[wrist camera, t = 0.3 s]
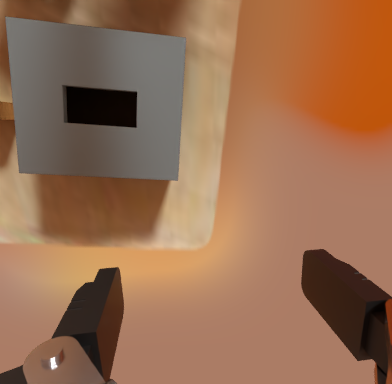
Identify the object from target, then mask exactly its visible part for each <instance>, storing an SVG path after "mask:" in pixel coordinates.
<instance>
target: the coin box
mask: <svg viewBox="0 0 392 384" xmlns="http://www.w3.org/2000/svg"><path fill="white" fill-rule="evenodd" d="M5 19H6V30H7V42H8V53H9V64H10V75H11V87H12V98H13V109H14V120H15V131H16V143H17V154H18V165H19V173H27V174H48V175H70V176H91V177H112V178H133V179H154V180H175V181H178V172H179V154H180V136H181V119H182V101H183V84H184V66H185V49H186V38H184V37H175V36H167V35H158V34H150V33H141V32H133V31H124V30H116V29H107V28H99V27H90V26H82V25H73V24H65V23H56V22H48V21H39V20H31V19H22V18H14V17H5ZM66 86H69V87H80V88H91V89H103V90H114V91H125V92H137V128H133V127H119V126H105V125H91V124H77V123H67V100H66Z"/></svg>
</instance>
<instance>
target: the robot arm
mask: <svg viewBox="0 0 392 384" xmlns="http://www.w3.org/2000/svg"><path fill="white" fill-rule="evenodd" d="M301 284H302V290H303V293H304V295H305V296H306V298H307V299H308V300H309V301H310V303H311V304H312V305H313V306H314V308H315V309H316V310H317V311H318V312H319V314H320V315H321V316H322V317H323V319H324V320H325V321H326V322H327V324H328V325H329V326H330V327H331V329H332V330H333V331H334V332H335V333H336V334H337V336H338V337H339V338H340V340H341V341H342V342H343V343H344V345H345V346H346V347H347V348H348V349H349V351H350V352H351V353H352V354H353V356H354V357H355V358H356V359H357V361H361V360H368V359H373V360H374V361H375V368H374V378H375V384H392V297H391V296H390V295H389V294H387V293H386V292H385V291H383V290H382V289H381V288H379V287H378V286H377V285H375V284H374V283H373V282H372V281H370V280H367V278H366V277H365V276H364V275H362V274H361V273H359V272H358V271H357V270H356V269H355V268H353V267H352V266H351V265H349V264H347V263H345V262H342V261H340V260H338V259H336V258H334V257H333V256H332V255H331V254H329V253H328V252H327V251H326V250H324V249H319V250H307V251H305V252H304V255H303V266H302V282H301ZM123 312H124V300H123V293H122V284H121V276H120V270H119V268H118V267H116V268H105V269H100V270H99V271H98V273H97V276H96V278H95V280H94V282H88V283H85V284H84V285H83V286H82V287H80V288H79V289H78V290H77V291H76V293H75V295H74V296H73V298H72V300H71V303H70V304H69V306H68V308H67V311H66V312H65V314H64V315H63V317H62V319H61V321H60V323H59V325H58V327H57V329H56V331H55V333H54V334H53V336H52V338H51V339H50V340H48V341H46V342H44V343H42V344H40V345H39V346H38V347H36V348H35V349H34V350H33V351H32V352H31V353H30V354H29V355H28V357H27V358H26V360H25V362H24V364H23V365H22V366H20V367H17V368H15V369H12V370H10V371H6V372H4V373H1V374H0V384H117V383H116V382H115V381H114V380H113V379H110V375H111V370H112V365H113V361H114V356H115V351H116V347H117V341H118V337H119V333H120V327H121V323H122V319H123ZM109 379H110V380H109Z"/></svg>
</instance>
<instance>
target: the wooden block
mask: <svg viewBox="0 0 392 384" xmlns="http://www.w3.org/2000/svg"><path fill="white" fill-rule="evenodd" d="M0 119H3V120H14V109H13V103H8V102H1V101H0Z"/></svg>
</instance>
